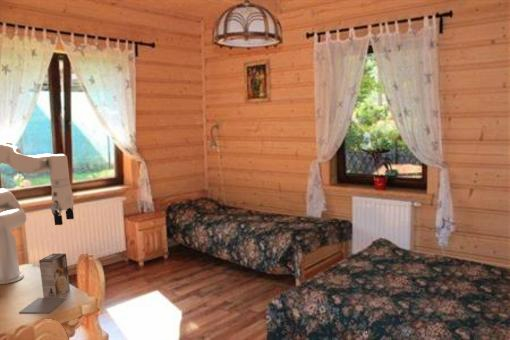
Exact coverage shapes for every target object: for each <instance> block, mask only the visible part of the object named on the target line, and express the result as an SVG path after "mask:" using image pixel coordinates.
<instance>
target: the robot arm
mask: <svg viewBox="0 0 510 340" xmlns="http://www.w3.org/2000/svg"><path fill="white" fill-rule="evenodd" d="M1 164H5V165H8V166H9V167H10V168H11V169H13V170H15V171H18V172H21V173H24V174H25V173H26V174H30V175H34V174H35V175H36V174H39V173H44V172H49V179H50V180H49V181H50V187H51V203H52V204H51V206H50V210H51V212H52V215H53V219H54V225H55V226H62V225H63V224H64V222H63V215H62V213H63V211H65V218H66V220H74V219H75V215H74V206H75V203H74V202H75V201H74V200H75V199H74V196H73V189H72V186H71V182H70V173H69V172H70V169H69V163H68V156H67V155H66V154H64V153H57V154H53V153H42V154H35V155H27V154H22V150H21V149H20V148H19V147H18V146H16V145H13V143H12V142H11V141H10V140H6V139H0V165H1ZM26 222H27V214H26V212H25V210H24V209H23V207H22V205H21V204H20V203H19V201H18V200H17V198H16V197H15V195H14V194H13V193H12V192H11V191H10V190H9V189H7V188H1V187H0V285H5V284H11V283H12V284H13V283H15V282H19V281H20V280H22V279H23V278H24V276H25V274H24V273H23V272H20V265H19V257H18V248H17V240H16V237H15V236H14V234H13V232H12V231H13V230H15V229H17V228H18V229H19V228H21V227H22V226H24V225H25V223H26Z"/></svg>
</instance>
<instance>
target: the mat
mask: <svg viewBox="0 0 510 340" xmlns="http://www.w3.org/2000/svg"><path fill="white" fill-rule="evenodd" d="M67 299H68V298H67V297H58V298H44V297H37V298H36V299H35V300H33V301H32V302H31V303H30V304H28V305H27V306H26V307H24V308H23V309H21V310H20V311H18V313H19V314H48V315H49V314H51V313H53V311H55V310H56V309H57V308H58V307H59V306H60V305H62V304H63V303H64V302H65V301H66V300H67Z"/></svg>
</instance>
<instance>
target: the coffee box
mask: <svg viewBox="0 0 510 340" xmlns="http://www.w3.org/2000/svg"><path fill="white" fill-rule="evenodd" d="M67 260H68V259H67V253H51V254H50V255H47V256H45V257H44V258H41V259H40V260H38V261H39V270H40V279H41V289H42V295H43V297H42V298H61V296H62V295H64V294H65V293H67V292H68V291H70V290H71V288H70V279H69V268H68V261H67Z"/></svg>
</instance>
